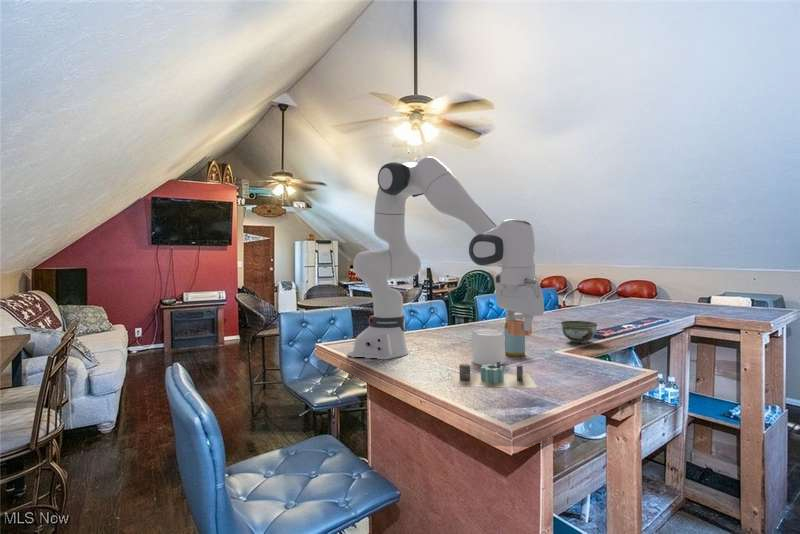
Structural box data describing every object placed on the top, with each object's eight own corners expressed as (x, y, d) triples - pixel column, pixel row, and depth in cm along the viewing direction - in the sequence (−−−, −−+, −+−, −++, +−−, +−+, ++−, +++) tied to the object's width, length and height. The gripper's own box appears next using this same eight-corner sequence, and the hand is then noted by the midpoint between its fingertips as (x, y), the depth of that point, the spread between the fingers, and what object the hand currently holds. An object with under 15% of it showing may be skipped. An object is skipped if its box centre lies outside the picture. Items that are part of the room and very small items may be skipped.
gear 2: (509, 336, 104) (509, 322, 104) (506, 332, 110) (506, 319, 110) (533, 336, 103) (533, 322, 103) (529, 332, 110) (528, 319, 109)
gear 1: (484, 383, 105) (483, 365, 105) (478, 376, 111) (478, 359, 111) (506, 383, 105) (506, 364, 105) (499, 376, 111) (499, 358, 111)
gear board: (452, 390, 104) (452, 371, 103) (452, 377, 115) (451, 359, 115) (538, 392, 101) (537, 372, 101) (528, 378, 113) (528, 360, 113)
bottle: (526, 357, 136) (525, 314, 136) (505, 356, 138) (504, 314, 138) (523, 352, 143) (523, 312, 143) (504, 352, 145) (503, 311, 144)
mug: (464, 359, 135) (464, 329, 135) (492, 357, 137) (491, 327, 137) (480, 370, 122) (479, 336, 122) (510, 368, 124) (509, 334, 124)
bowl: (595, 347, 149) (595, 326, 148) (558, 344, 156) (558, 324, 156) (598, 340, 160) (598, 321, 160) (563, 338, 167) (563, 319, 167)
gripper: (550, 279, 97) (551, 334, 97) (511, 276, 117) (512, 322, 117) (527, 279, 96) (528, 335, 96) (492, 277, 116) (493, 323, 116)
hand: (519, 328), depth 107 cm, fingers closed on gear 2, 6 cm apart
